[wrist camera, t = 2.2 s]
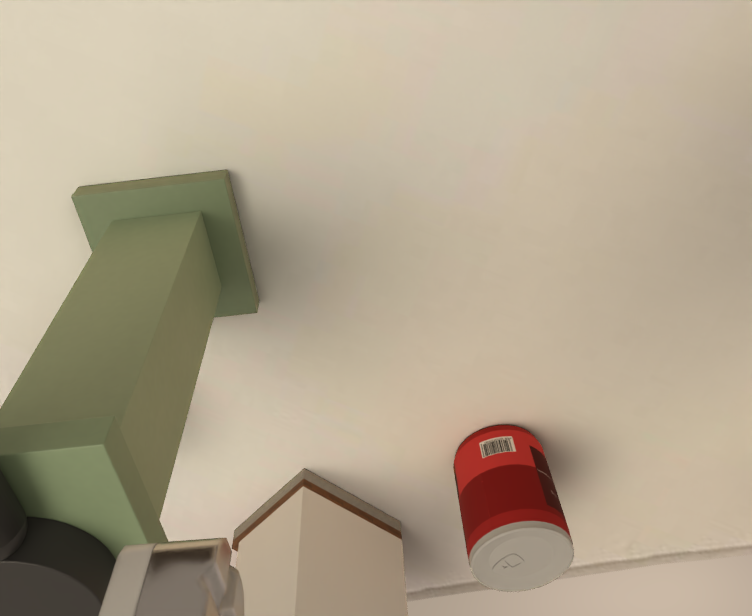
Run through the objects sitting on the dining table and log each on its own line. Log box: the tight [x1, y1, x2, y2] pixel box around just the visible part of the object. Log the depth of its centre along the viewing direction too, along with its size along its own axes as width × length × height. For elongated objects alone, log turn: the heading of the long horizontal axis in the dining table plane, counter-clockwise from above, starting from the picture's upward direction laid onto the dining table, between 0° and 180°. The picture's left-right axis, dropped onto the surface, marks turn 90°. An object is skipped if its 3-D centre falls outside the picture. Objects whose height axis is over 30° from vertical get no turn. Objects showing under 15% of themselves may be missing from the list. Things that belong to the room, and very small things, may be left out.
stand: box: [0, 170, 259, 559], centre depth 39 cm, size 12×10×26 cm
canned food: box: [454, 425, 574, 592], centre depth 58 cm, size 8×8×11 cm
